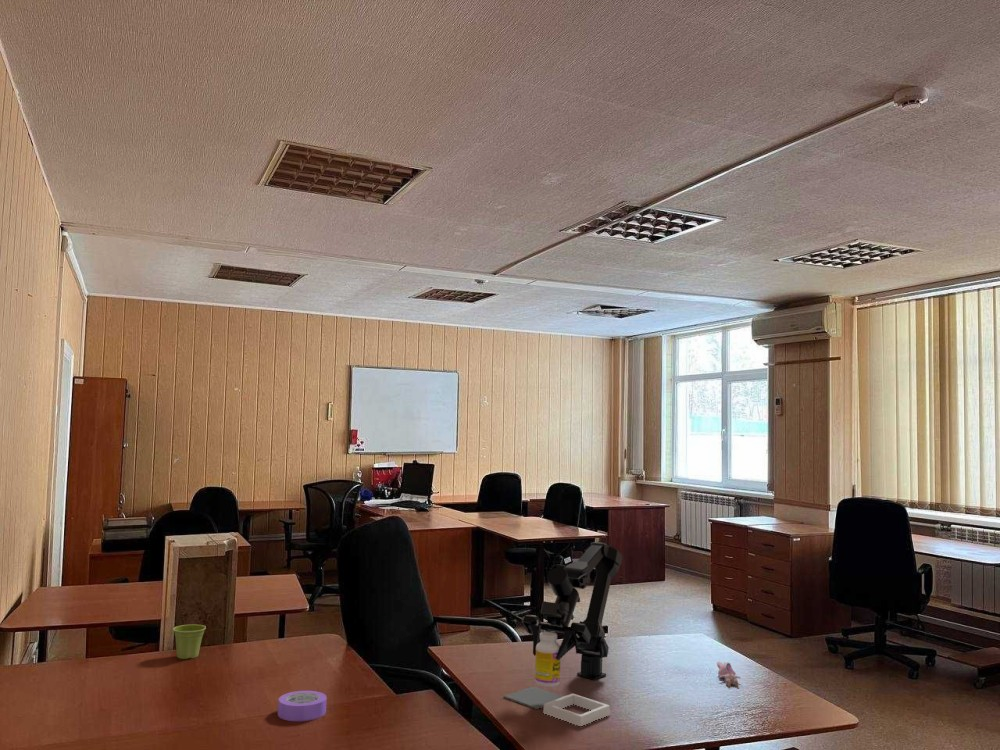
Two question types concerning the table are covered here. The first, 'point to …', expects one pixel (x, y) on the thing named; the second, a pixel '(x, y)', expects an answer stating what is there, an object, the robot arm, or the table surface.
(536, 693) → the mat
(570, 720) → the holder
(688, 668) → the table surface
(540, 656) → the supplement bottle
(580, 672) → the robot arm
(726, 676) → the pink plastic figurine
